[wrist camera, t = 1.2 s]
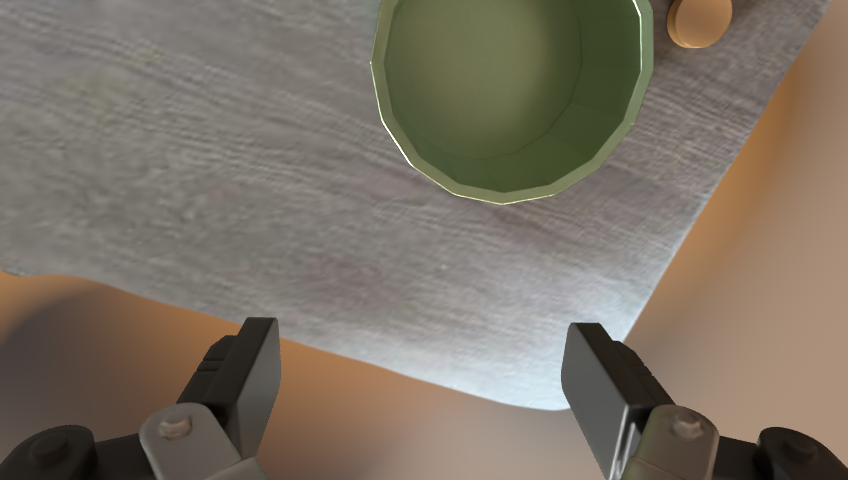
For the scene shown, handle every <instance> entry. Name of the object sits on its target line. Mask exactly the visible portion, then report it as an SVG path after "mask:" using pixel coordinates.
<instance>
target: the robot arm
mask: <svg viewBox="0 0 848 480" xmlns="http://www.w3.org/2000/svg"><path fill="white" fill-rule="evenodd" d="M280 379H281V360H280V344H279V327H278V321H277V318H265V317H248V318H247V319H246V320H245V322H244V324H243V326H242V328H241V329H240V331H239V333H238V335H237V336H232V335H231V336H230V335H228V336H227V335H226V336H224V337H223V338H222V339H220V340H219V341H218V342H216V343H215V344H213V345H212V346H211V347H210V349H209V350H208V352H207V353H206V355H205V357H204V358H203V361H202V362H201V363H200V365H199V366H198V368H197V372H195V373H194V374H193V376H192V378H191V379H190V381H189V383H188V384H187V386H186V387H185V389H184V391H183V392H182V394H181V396H180V397H179V399H178V401H177V402H176V404H175V405H171V406H168V407H165V408H163V409H161V410H159V411H157V412H155V413H154V414H152V415H151V416H150V417H149V418H147V419H146V420H145V422H144V423H143V424H142V426H141V427H140V430H139V433H136V434H133V435H129V436H125V437H120V438H115V439H110V440H106V441H101V442H97V443H95V442H94V437H93V434H92V432H91V431H90V430H89V429H87V428H86V427H83V426H79V425H65V426H59V427H54V428H51V429H48V430H45V431H42V432H40V433H37V434H35V435H33V436H32V437H30V438H28V439H26V440H25V441H23V442H22V443H21V444H19V445H18V446H17V447H16V448H15V449H14V450H13V451H12V452H11V453H10V454H9V455H8V457H7V458H6V459H5V460H4V461H3V462H2V463H1V464H0V480H270V478H269V477H268V475H267V474H266V473H265V471H264V470H263V468H262V467H261V465H260V464H259V463H258V461H257V460H256V459H255V457H256V455H257V452H258V448H259V446H260V443H261V440H262V437H263V434H264V431H265V429H266V426H267V423H268V420H269V417H270V414H271V411H272V408H273V405H274V402H275V399H276V396H277V394H278V390H279V386H280ZM561 383H562V389H563V392H564V395H565V397H566V399H567V401H568V403H569V405H570V407H571V409H572V411H573V413H574V415H575V417H576V419H577V421H578V423H579V425H580V427H581V430H582V432H583V434H584V436H585V438H586V440H587V442H588V444H589V446H590V448H591V450H592V452H593V454H594V457H595V459H596V461H597V463H598V465H599V467H600V469H601V471H602V473H603V475H604V477H605V479H606V480H848V468H847V467H846V466H845V465H844V464H843V463H842V462H841V461H840V460H839V459H838V458H837V457H836V456H835V455H834V454H833V453H832V452H831V451H830V450H828V448H827V447H825V446H824V445H823V444H821V443H820V442H818V441H817V440H815V439H813V438H811V437H809V436H807V435H805V434H802V433H800V432H798V431H794V430H791V429H787V428H782V427H770V428H766V429H764V430H763V431H761V433H760V435H759V438H758V441H757V444H755V443H750V442H746V441H741V440H737V439H732V438H728V437H724V436H720V435H719V432H718V430H717V428H716V427H715V425H714V424H713V423H712V422H711V421H710V420H708V419H707V418H706V417H705V416H703V415H701V414H700V413H698V412H696V411H693V410H691V409H689V408H686V407H682V406H678V405H676V404H675V403H674V402H673V400H672V399H671V398H670V396H669V395H668V394H667V393H666V391H665V390H664V389H663V388H662V386H661V385H660V384H659V382H658V381H657V380H656V378H655V377H654V376H652V374H651V372H650V371H649V369H648V368H647V367H646V366H644V363H643V362H642V361H641V359H640V358H639V357H638V355H637V354H636V353H635V352H634V351H633V350H631V349H630V348H629V347H627V346H626V345H624V344H623V343H621V342H620V341H613V340H612V339H611V338H610V336H609V335H608V333H607V332H606V331H605V329H604V328H603V327H602V325H601V324H599V323H571V324H570V326H569V328H568V333H567V339H566V345H565V351H564V357H563V363H562V369H561Z"/></svg>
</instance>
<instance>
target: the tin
mask: <svg viewBox="0 0 848 480" xmlns="http://www.w3.org/2000/svg"><path fill="white" fill-rule="evenodd" d="M381 2H382V3H381V4H380V8H379V14H378V20H377V25H376V31H375V37H374V42H373V48H372V53H371V59H370V63H371V64H370V67H371V72H372V77H373V82H374V87H375V92H376V97H377V102H378V107H379V112H380V117H381V120H382V122H383V124H384V125H385V127H386V129H387V130H388V132H389V133H390V135H391V136H392V138H393V139H394V141H395V142H396V144H397V145H398V147H399V148H400V150H401V151H402V153H403V154H404V156H405V158H406V159H407V161H408V162H409V164H410V165H412V167H414V168H415V169H416V170H418V171H419V172H421V173H422V174H424V175H425V176H427V177H428V178H430V179H431V180H433V181H434V182H436V183H437V184H439V185H440V186H441V187H443V188H444V189H446V190H447V191H449V192H450V193H452V194H454V195H457V196H462V197H467V198H472V199H477V200H482V201H487V202H491V203H496V204H501V205H503V204H509V203H515V202H520V201H526V200H532V199H537V198H543V197H548V196H552V195H555V194H557V193H559V192H560V191H562V190H564V189H565V188H567V187H569V186H570V185H572V184H574V183H575V182H577V181H579V180H580V179H582V178H584V177H585V176H587V175H589V174H590V173H592V172H594V171H595V170H597V169H598V168H599V167H600V166H601V165H602V164H603V163H604V161H605V160H606V159H607V158H608V156H609V155H610V154H611V153H612V152H613V150H614V149H615V148H616V147H617V145H618V144H619V143H620V142H621V141H622V139H623V138H624V137H625V136H626V135H627V133H628V132H629V131H630V130H631V128H632V127H633V126H634V125H633V124H635V122H636V119H637V116H638V113H639V111H640V108H641V105H642V102H643V100H644V97H645V94H646V91H647V88H648V86H649V83H650V80H651V77H652V75H653V70H654V12H653V8H652V6H651V3H650V1H649V0H382V1H381Z"/></svg>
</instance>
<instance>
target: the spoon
mask: <svg viewBox="0 0 848 480" xmlns="http://www.w3.org/2000/svg"><path fill="white" fill-rule="evenodd" d="M731 18H732V3H731V0H675V1H674V2H673V4H672V5H671V7H670V10H669V12H668V16H667V29H668V33H669V35H670V37H671V39H672V40H673V41H674V42H675V43H676V44H678V45H680V46H682V47H686V48H702V47H706V46H709V45H711V44H713V43H715V42H716V41H717V40H718V39H720V38H721V37H722V36H723V34H724V33H725V32H726V30H727V28H728V26H729V24H730V21H731Z"/></svg>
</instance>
